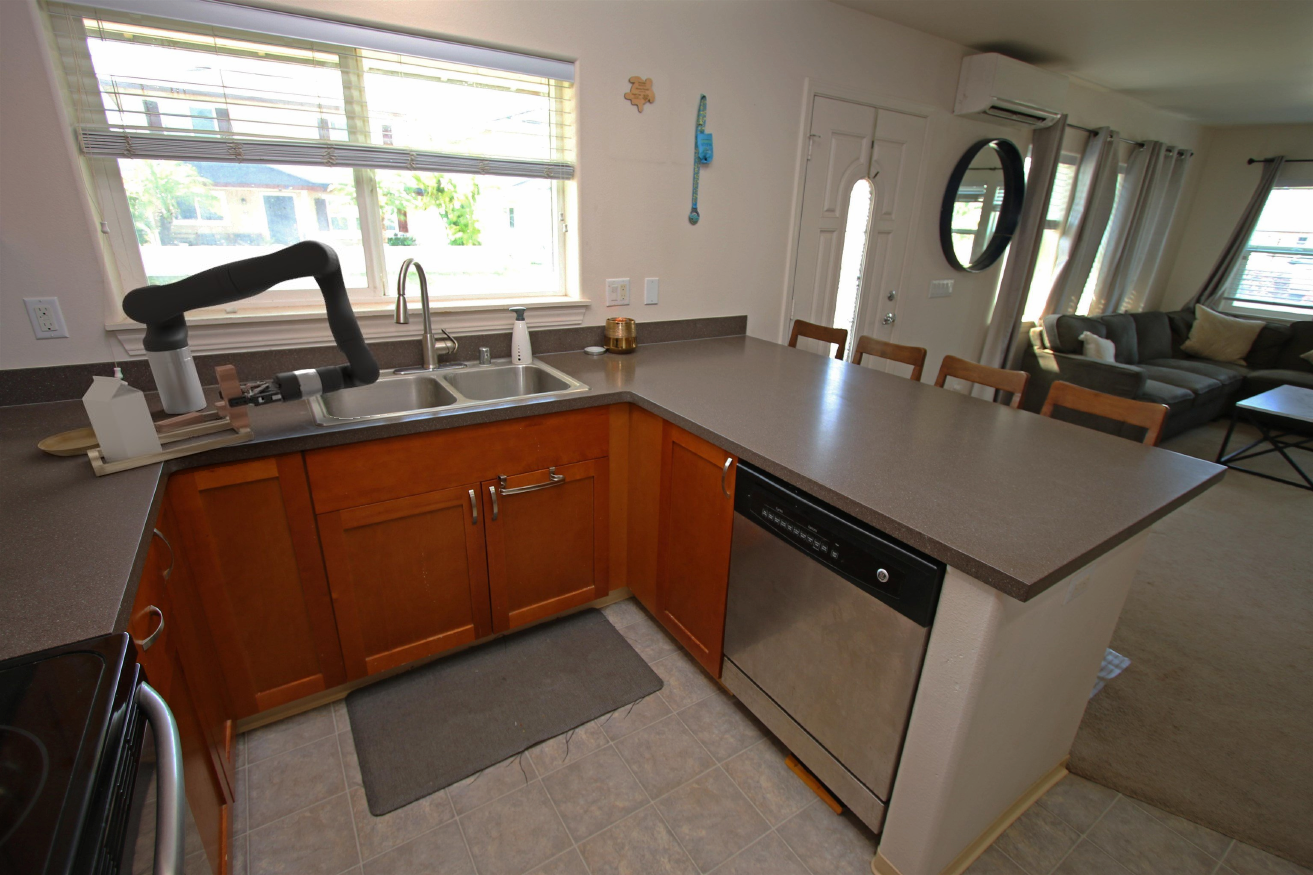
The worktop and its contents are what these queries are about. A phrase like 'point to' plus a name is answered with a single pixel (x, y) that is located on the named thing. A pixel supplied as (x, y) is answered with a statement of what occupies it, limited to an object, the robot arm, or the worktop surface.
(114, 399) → the milk carton
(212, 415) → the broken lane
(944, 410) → the worktop surface
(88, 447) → the plant saucer
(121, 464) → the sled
